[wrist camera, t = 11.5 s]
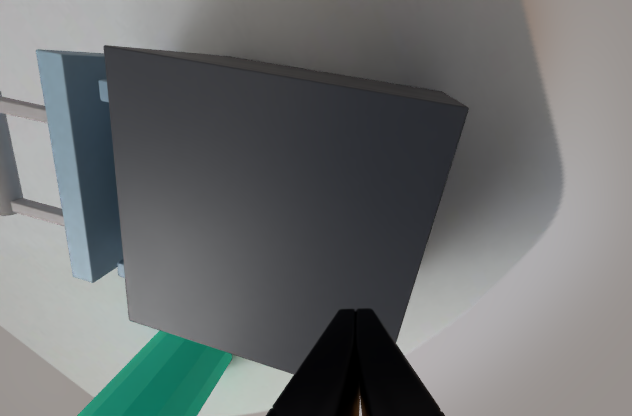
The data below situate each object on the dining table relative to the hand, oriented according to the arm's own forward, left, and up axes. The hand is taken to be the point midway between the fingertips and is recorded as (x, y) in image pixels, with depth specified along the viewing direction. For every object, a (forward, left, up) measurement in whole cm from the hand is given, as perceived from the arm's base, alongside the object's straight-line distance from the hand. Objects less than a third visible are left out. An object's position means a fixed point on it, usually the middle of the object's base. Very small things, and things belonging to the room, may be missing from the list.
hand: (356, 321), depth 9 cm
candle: (+5, +19, -12) cm, 23 cm away
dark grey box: (+4, +2, -12) cm, 12 cm away
